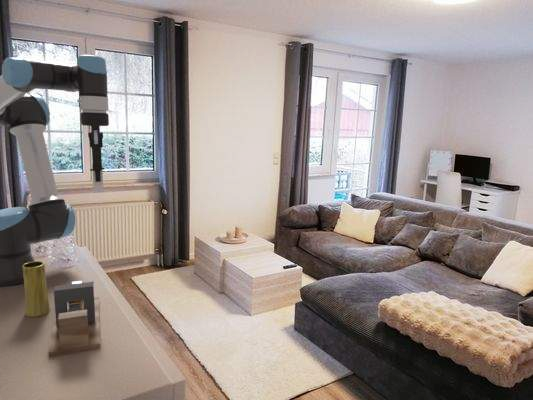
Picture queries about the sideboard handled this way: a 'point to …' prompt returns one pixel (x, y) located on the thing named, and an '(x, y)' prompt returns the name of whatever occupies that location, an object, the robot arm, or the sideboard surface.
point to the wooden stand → (75, 332)
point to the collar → (74, 298)
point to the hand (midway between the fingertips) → (98, 191)
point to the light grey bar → (75, 302)
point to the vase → (35, 289)
